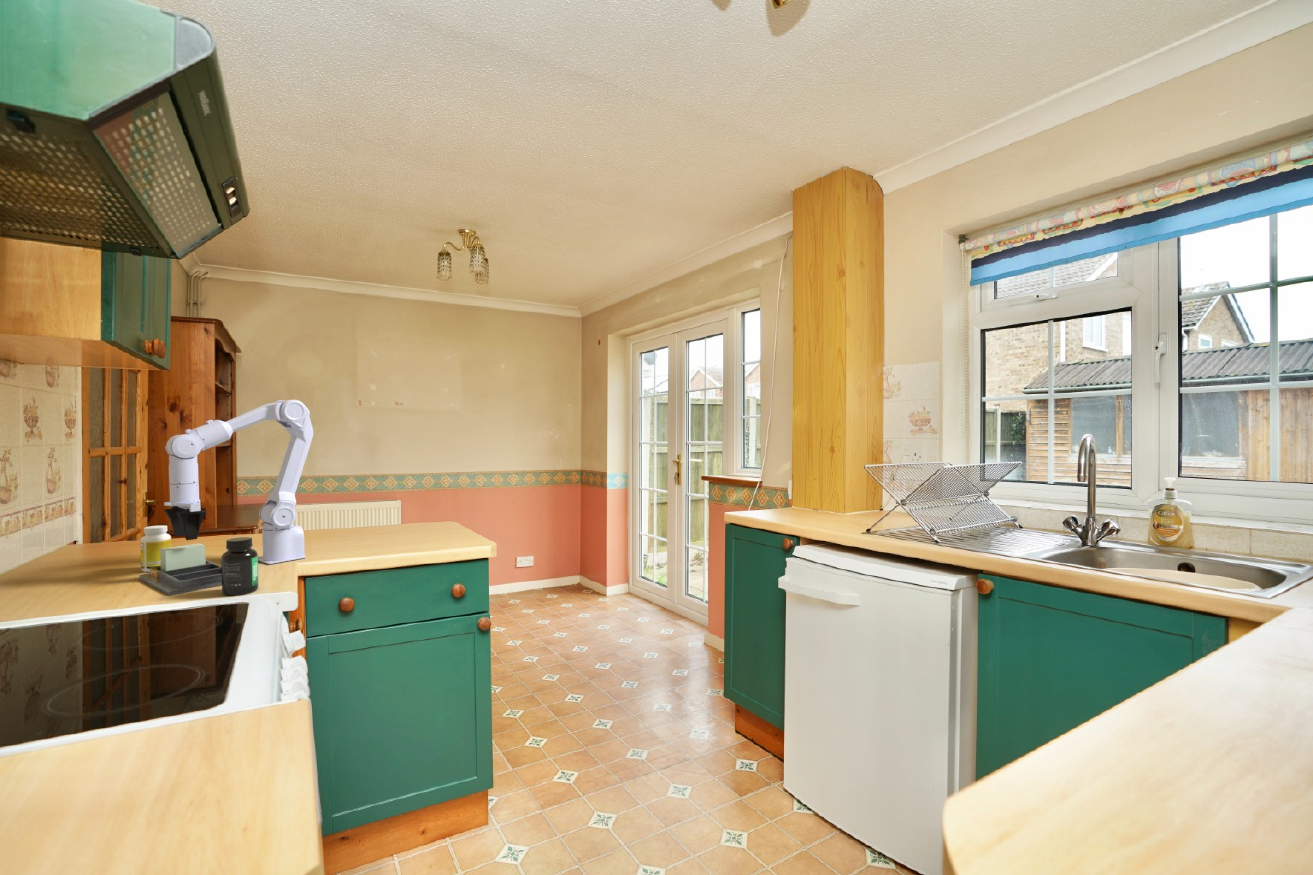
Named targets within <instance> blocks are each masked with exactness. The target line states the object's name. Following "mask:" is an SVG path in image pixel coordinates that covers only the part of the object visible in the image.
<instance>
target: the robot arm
mask: <svg viewBox="0 0 1313 875" xmlns="http://www.w3.org/2000/svg"><path fill="white" fill-rule="evenodd" d="M310 416H311V411H310V410H309V409H308V407H307V406H306V405H305V404H304V402H302V401H301V400H297V399H289V400H286V399H280V400H276V401H274V402H269V403H266V404H263V405H260V406H258V407H256V408H254V409H251V410H249V411H246V412H244V413H242V414H240V415H238V416H236V417H233V418H231V419H229V420H226V421H223V420H221V419H216V420H213V419H209V420H205V424H203V425H200V426H198V427H195V428H193V429H191V428H188V429H185V430H184V432H185V434H176V435H173V436H171V437H170V438H169V439H168V440H167V442H166V444H165V446H164V449H165V451H166V453H167V454H168V455H169V458H168V460H169V464H168V478H169V479H168V480H169V481H168V482H169V501H165V502H164V503H163V505H164V506H167V507H169V506H170V507H171V508H165V509H164V513H165V514H166V516H167V517H168V519H169V521H170V524H171V527H172V531H173V534H174V536H175V537H182V536H184V539H185V540H186V541H193V540H197V539H198V536H199V532H200V529H201V524H202V522H203V520H204V518H205V517H206V515H207V510H205V509H204V510H202V509H201V508H202V507H201V499H200V483H199V463H198V455H199V454H200V453H201V451H203V452H204V451H206V450H208V449H211V448H212V447H216V446H217V445H220V444H222V443H225V442H227V441H229V440H230V439H232V435H233V433H235V432H238V431H240V430H243V429H245V428H249V427H250V426H253V425H255V424H259V423H261V422H264V421H276V422H277V423H279V424H280V425H281V426H283V427H284V429H285V430H286V431H287V433H288V434H289V435H290V438H289V442H288V444H287V448H286V451H285V454H284V457H283V459H282V463H281V466H280V470H279V472H278V475H277V479H276V482H275V485H274V488H273V491H271V493H270V494H269V495H268V497H267V500H266V502H265V503H264V504H263V505H262V506H261V508H260V509H259V513H258V514H259V519H260V521H261V522H263V525H262V527H261V529H262V530H261V532H262V533H261V534H262V537H261V540H262V557H258V562H261V563H265V564H267V565H272V564H273V565H274V564H279V563H284V562H285V563H286V562H289V561H294V560H300V559H301V560H302V559H305V558H307V556H306V555H305V552H306V551H305V533H304V529H303V527H302V526H301V525H299V524H298V525H294V522H295V521H296V518H297V513H296V505H297V500H296V492H297V488H298V486H299V483H300V480H301V479H300V478H301V477H302V473H303V470H304V466H305V464H306V462H307V461H306V460H307V457H308V453H309V451H310V448H311V445H312V440H313V438H314V427H313V423H312V421H311V417H310Z"/></svg>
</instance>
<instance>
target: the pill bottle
mask: <svg viewBox="0 0 1313 875" xmlns="http://www.w3.org/2000/svg"><path fill="white" fill-rule="evenodd" d="M167 532H168V525H152V526H151V525H150V526H146V527H143V534H144V536H142V537H141V538H140V543H139V544H140V545H139V547H140V568H141V571H142V572H144V573H150V568H152V567H158V566H161V562H160V549H162V548H169V547H173V546H172V545H173V544H172V536H171V535H170V534H169V533H167Z"/></svg>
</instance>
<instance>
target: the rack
mask: <svg viewBox="0 0 1313 875" xmlns="http://www.w3.org/2000/svg"><path fill="white" fill-rule="evenodd" d="M138 579H139V580H140V581H142V582H144V583H146V584H148V585H149V586H151V587H153V588H155V589H157V590H159V591H161V592H162V593H163V594H166V595H167V596H174V595H179V594H181V595H182V594H185V592H186V593H190V591H191V592H196V591H200V590H199V589H201V590H206V589H211V588H212V589H213V588H215V587H222V574H221V564H217V563H216V562H213V561H211V560H208V559H206V564H204V565H198V566H192V567H186V568H181V569H175V570H169V571H163V572H162V571H161V566H158V567H152V568H150V572H148V573H143V574H138ZM195 590H196V591H195Z"/></svg>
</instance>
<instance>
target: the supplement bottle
mask: <svg viewBox="0 0 1313 875" xmlns="http://www.w3.org/2000/svg"><path fill="white" fill-rule="evenodd" d="M225 542H226V546H225V549H226V550H227V551H225V552H224V553H222V555H221V558H220V561H221V562H220V563H221V564H220V565H221V574H222V586H221V593H222V594H223V595H224V596H229V597H234V596H236V595H238V596H243V595H244V596H245V595H248V594H251V593H255V592H257V591H258V590H259V561H258V558H259V554H258V552H257V550H256V549H254V548H252V547H253V546H254V545H253V537H249V536H243V537H242V536H241V537H233V538H228V539H226V541H225Z"/></svg>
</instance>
